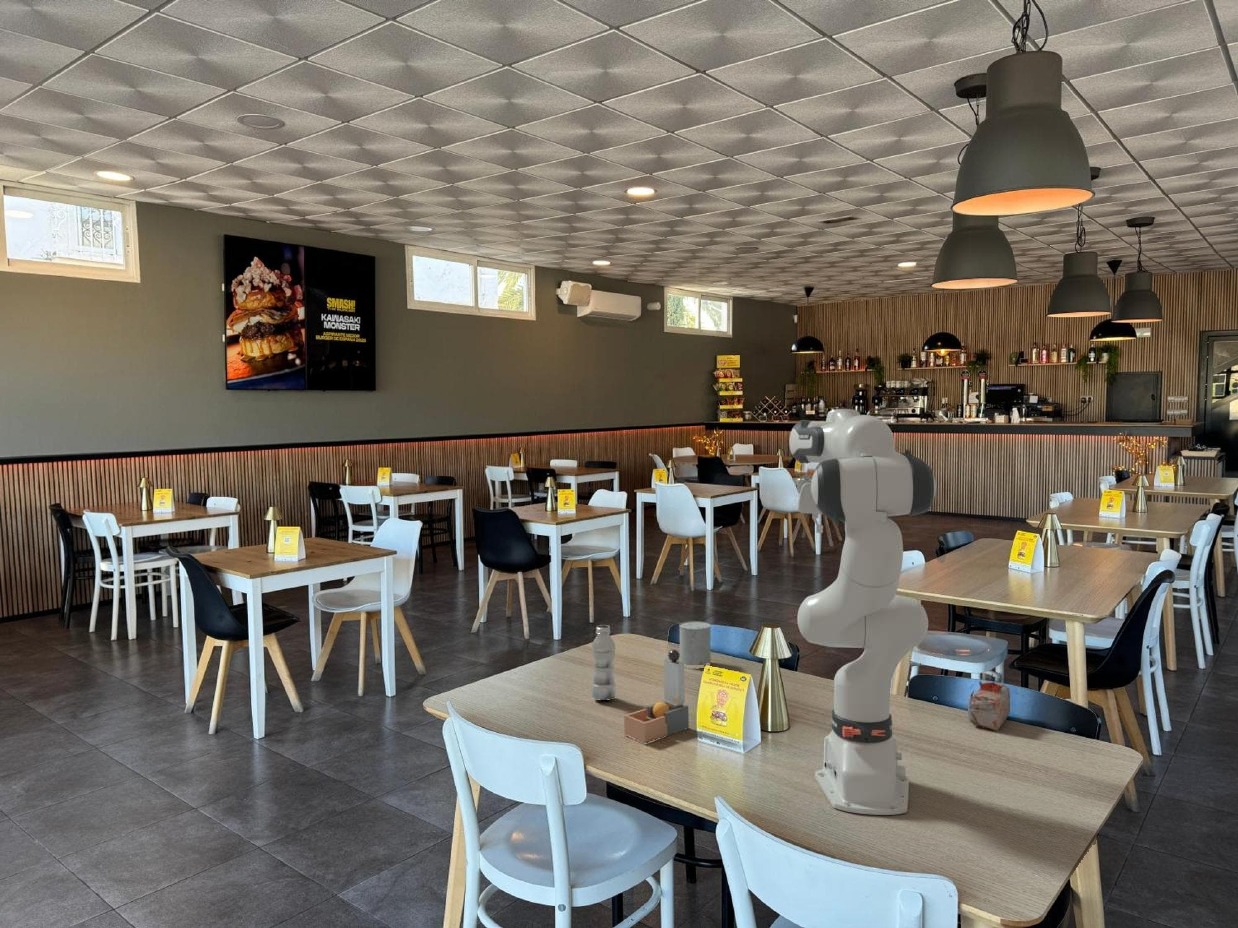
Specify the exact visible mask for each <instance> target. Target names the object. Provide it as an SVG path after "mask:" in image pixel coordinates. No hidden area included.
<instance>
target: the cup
mask: <svg viewBox="0 0 1238 928" xmlns="http://www.w3.org/2000/svg"><path fill="white" fill-rule="evenodd" d="M623 718H624V720H623V722H624V726H623V727H624V728H623V729H624V735H625V734H626V735H629V736H631V737H633V738H635V739H636V740H639V741H641V742H643V743H648V742H650V741H653V740H656V739H658V738H662V737H664V736H667V724H665V716H662V717H659V718H656V719H651V718H649V717H648V714H647V708H643V709H640V710H637V711H633V712H630V713H627V714H625V715H624V717H623ZM667 737H668V736H667ZM662 739H663V738H662ZM648 744H649V743H648Z"/></svg>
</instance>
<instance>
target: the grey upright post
mask: <svg viewBox="0 0 1238 928" xmlns="http://www.w3.org/2000/svg"><path fill="white" fill-rule="evenodd" d="M667 656H668V657H667V659H663V675H664V676H663V680H664V681H663V682H664V683H663V685H664V686H663V687H664V691H663V692H664V693H663V694H664V699H663V700H662V702H664V703H666V704H667V705H668V707H669V711H671V710H674V709H677V708H680V707H683V706H684V704H685V691H686V690H685V668H684V662H681V661H680V651H678V650H677V649H671V650H670V651H668V655H667Z"/></svg>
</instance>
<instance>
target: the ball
mask: <svg viewBox="0 0 1238 928" xmlns="http://www.w3.org/2000/svg"><path fill="white" fill-rule="evenodd" d="M654 704H655V706H654V707H653V714H654V716H655V717H656V718H659V717H662V716H664V713H665V712H668V711H669V707H668V705H667V704H666V703H664V702H663V701H659V702H657V703H654Z"/></svg>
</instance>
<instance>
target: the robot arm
mask: <svg viewBox="0 0 1238 928" xmlns="http://www.w3.org/2000/svg"><path fill="white" fill-rule="evenodd" d="M788 442H789V443H788V444H789V450H790V452H791V453H790V454H791V456H792V457H793V458H794V459H795V460H796V461H797V462H798V463H800V464H810V463H816V464H817V463H818V464H817V466H816V467H815V471H814V472H813V475H807V474H806V475H803V476H801V477H799V478H798V479H797V482H796V489H797V492H798V493H799V495H798V501H797V511H798V512H799V513H801V514H808V515H809V514H810V515H812V516H811V518H812V520H813V522H814V524H815V525H816V528H815V529H816V531H815V532H816V533H817V534H818V533H819V534H822V533H823V532H824V530H823V529H824V525H822V524H820V523H819V522H818V520H817V519H819V515H823V516H824V517H826V518H828V519H829V520H831V521H832V524H833V526H835V527H838V526H839V523H840V522H842V523H844V525H845V538H844V539H845V540H844V544H843V547H842V551H841V557H840V565H839V568H838V569H839V570H838V574H837V578H836V579H835V580H834V581H833V582H832V583H831V584H830V585H829V586H827V587H825V588H824V589H823V590H821V591H819V592H817V593H814V594H811V595H809V596H807V597H806V598H804V600H803V601H802V602H801V603H800V606H799V608H798V611H797V617H796V619H797V626H798V629H799V631H800V634H801V636H802V637H803V638H804V639H805V640H806V641H807V642H808V643H811V644H815V645H819V646H824V647H829V648H853V649H856V648H858V649H864V651H863V653H862V654H861V655H860V656H859V657H858V658H857V659H855V660H853V661H851V662H848V663H846V664H844V665H842V666H841V668H839V669H838V670H837V671H836V673H835V675H834V678H833V709H832V710H831V716H830V717H831V719H830V720H831V729H832V730H831V731H830V732H829V733H828V735H826V736H825V737H824V741H823V742H824V745H823V768H822V769H818V770H816V771H815V773H814V778H815V780H816V782H817V783H818V785H819V786H820V789H821V790H822V792H823V793H824V794H825V796H826V798H827V799H828V802H830V805H831V806H832V807H833V809H838V810H839V811H843V812H848V813H854V814H862V815H875V816H876V815H877V816H879V815H880V816H889V815H891V816H893V815H894V816H895V815H901V814H906V813H907V812H908V807H909V796H910V795H909V793H910V792H909V791H910V779H909V776H907V775H906V766H905V765H899V761H901V760H903V759H902V758H903V754H902V752H899V741H898V740H897V739H896V738H895V737H894V736H893V720H892V714H891V713H890V709H891V708H890V706H891V704H890V703H891V689H892V681H893V677H894V674H895V671H896V669H897V667H898V665H899V664H900V662H901V661H902V660H903V658H904V657H905V656H906V655H907V654H908V653H909V652H910V651H911V650H913V649H914V648H916V647H917V646H919V645H920V644H921V643H922V642H923V640H924V639H925V637H926V636H927V633H928V629H929V619H928V614H927V611H926V610H925V608H924V606H923V604H922V603H921V602H920V601H919V600H918V599H917V598H913V597H908V596H903V595H899V594H897V592H898V588H899V582H900V577H901V573H902V567H903V562H904V561H903V558H904V544H903V543H904V542H903V535H902V532H901V529H900V527H899V526H898V524H897V523H896V522H895V521H893V520H892V519H891V518H889V517H896V516H899V517H900V516H903V515H904V516H905V515H907V516H909V517H910V516H916V515H921V514H925V513H927V512H928V511H929V510H930V508H931V507H932V506H933V502H934V500H935V496H936V492H937V483H936V479H935V476H934V473H933V469H932V467H931V466H930V465H929V464H928V463H927V462H926V461H925V460H924V459H922V458H920V457H917V456H915V455H913V454H912V452H911V450H909V449H906V450H905V451H904V452H898V451H897V450H895V437H894V434H893V432H892V429H891V428H890V427H889V425H888V424H887V423H886V422H885V421H883V420H882V419H880V418H879V417H876V416H874V415H868V414H861V413H860V412H859V411H858V410H856V409H853V408H849V407H848V408H847V407H846V408H845V407H844V408H842V407H840V408H835V409H831V410H830V411H828V412H827V415H826V419H825V421H824V420H820V421H817V420H808V419H801V420H799V421H798V422H797V423H795V425H793V427H792V429H791V431H790V433H789V441H788Z"/></svg>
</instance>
